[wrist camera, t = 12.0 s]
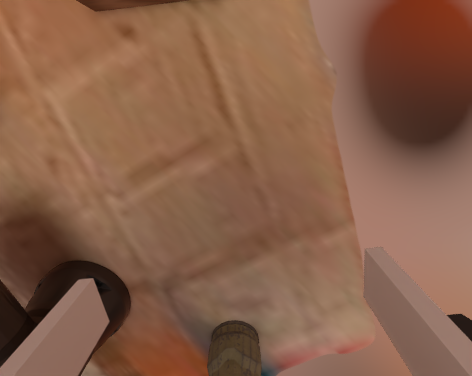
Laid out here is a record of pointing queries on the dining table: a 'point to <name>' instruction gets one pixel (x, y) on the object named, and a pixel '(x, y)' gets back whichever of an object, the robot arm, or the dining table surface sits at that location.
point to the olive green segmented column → (234, 350)
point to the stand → (120, 3)
